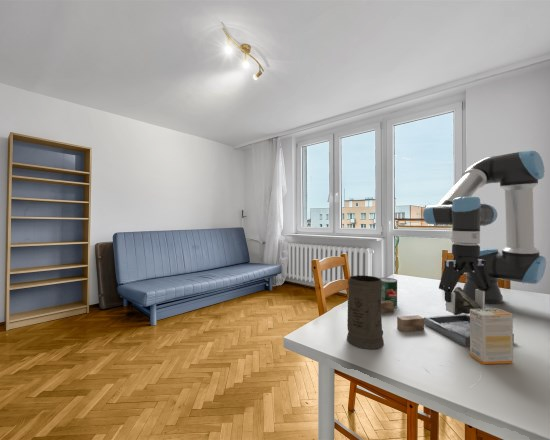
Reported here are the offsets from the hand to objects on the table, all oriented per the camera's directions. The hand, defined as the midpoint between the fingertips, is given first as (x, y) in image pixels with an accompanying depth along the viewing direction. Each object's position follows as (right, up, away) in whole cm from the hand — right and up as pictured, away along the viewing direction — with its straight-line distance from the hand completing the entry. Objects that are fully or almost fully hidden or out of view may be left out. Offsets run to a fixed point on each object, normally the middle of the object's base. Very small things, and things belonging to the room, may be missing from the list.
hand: (465, 310), depth 88 cm
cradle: (-18, -7, +11) cm, 22 cm away
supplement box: (-5, -8, -16) cm, 19 cm away
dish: (0, -7, 0) cm, 7 cm away
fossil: (0, -1, 0) cm, 1 cm away
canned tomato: (-14, -7, +28) cm, 32 cm away
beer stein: (-34, -8, -4) cm, 35 cm away
